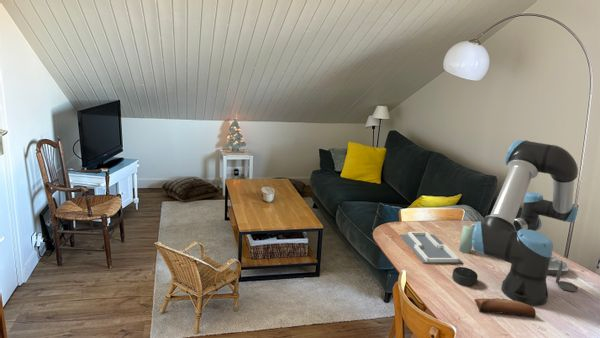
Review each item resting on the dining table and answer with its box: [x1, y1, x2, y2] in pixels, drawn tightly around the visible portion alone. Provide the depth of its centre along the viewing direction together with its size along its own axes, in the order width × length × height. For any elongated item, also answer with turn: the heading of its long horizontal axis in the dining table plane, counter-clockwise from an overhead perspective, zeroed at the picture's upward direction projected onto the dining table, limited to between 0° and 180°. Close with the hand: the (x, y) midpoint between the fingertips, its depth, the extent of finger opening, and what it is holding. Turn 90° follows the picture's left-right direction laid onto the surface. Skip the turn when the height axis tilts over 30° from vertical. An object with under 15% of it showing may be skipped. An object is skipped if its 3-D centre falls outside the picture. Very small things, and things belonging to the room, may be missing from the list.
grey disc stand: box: [555, 260, 579, 292], centre depth 166 cm, size 8×8×10 cm
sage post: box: [458, 225, 474, 254], centre depth 192 cm, size 5×5×11 cm
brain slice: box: [547, 255, 570, 276], centre depth 184 cm, size 20×17×3 cm
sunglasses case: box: [473, 297, 537, 319], centre depth 149 cm, size 18×7×7 cm
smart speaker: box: [451, 266, 478, 287], centre depth 166 cm, size 9×9×4 cm
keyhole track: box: [399, 231, 463, 265], centre depth 193 cm, size 28×17×2 cm, turn 8°
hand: (483, 233), depth 196 cm, fingers open, 13 cm apart
